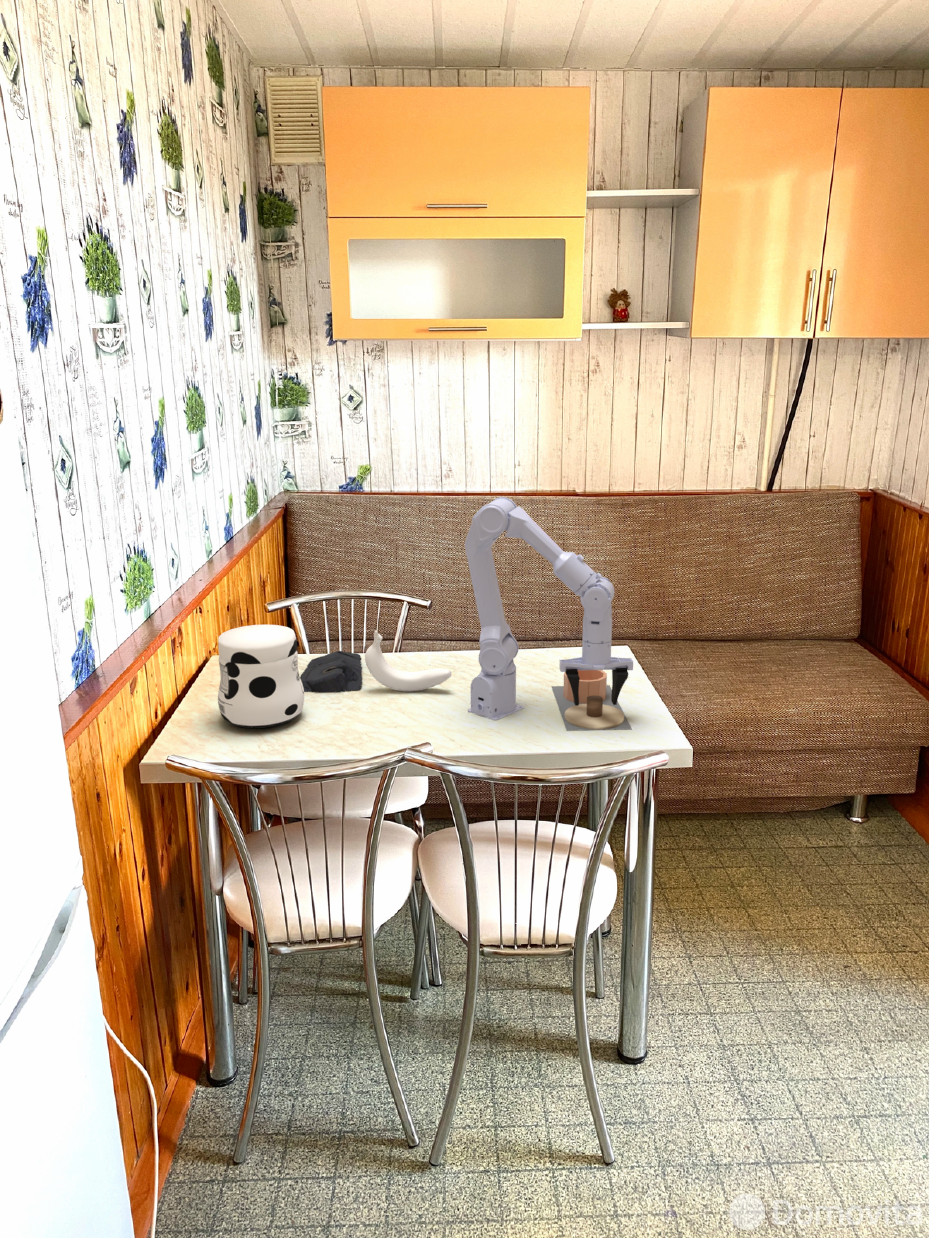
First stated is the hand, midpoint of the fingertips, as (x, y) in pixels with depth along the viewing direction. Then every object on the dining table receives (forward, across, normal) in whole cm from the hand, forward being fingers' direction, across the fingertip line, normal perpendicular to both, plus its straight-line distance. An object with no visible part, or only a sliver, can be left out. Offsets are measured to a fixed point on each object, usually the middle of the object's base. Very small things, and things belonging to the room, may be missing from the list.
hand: (595, 703), depth 188 cm
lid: (+3, 0, 0) cm, 3 cm away
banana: (+4, -38, +18) cm, 43 cm away
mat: (+3, 0, +6) cm, 7 cm away
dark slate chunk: (+4, -56, +29) cm, 64 cm away
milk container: (+3, -68, +4) cm, 68 cm away
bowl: (+3, 0, +12) cm, 13 cm away
